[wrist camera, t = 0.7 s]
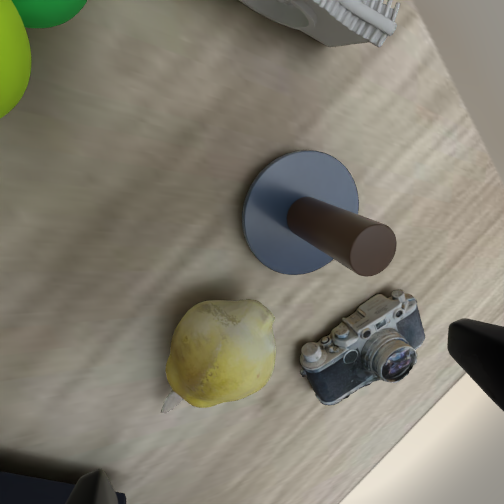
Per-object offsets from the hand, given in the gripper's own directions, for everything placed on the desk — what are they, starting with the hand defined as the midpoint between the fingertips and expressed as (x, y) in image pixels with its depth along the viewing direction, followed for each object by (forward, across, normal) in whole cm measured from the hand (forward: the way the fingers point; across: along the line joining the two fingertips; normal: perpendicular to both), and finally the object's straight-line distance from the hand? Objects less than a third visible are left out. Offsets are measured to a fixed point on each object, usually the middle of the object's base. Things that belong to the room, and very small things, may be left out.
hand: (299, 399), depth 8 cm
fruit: (+13, +1, +7) cm, 15 cm away
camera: (+13, -10, +11) cm, 20 cm away
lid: (+13, -6, 0) cm, 14 cm away
